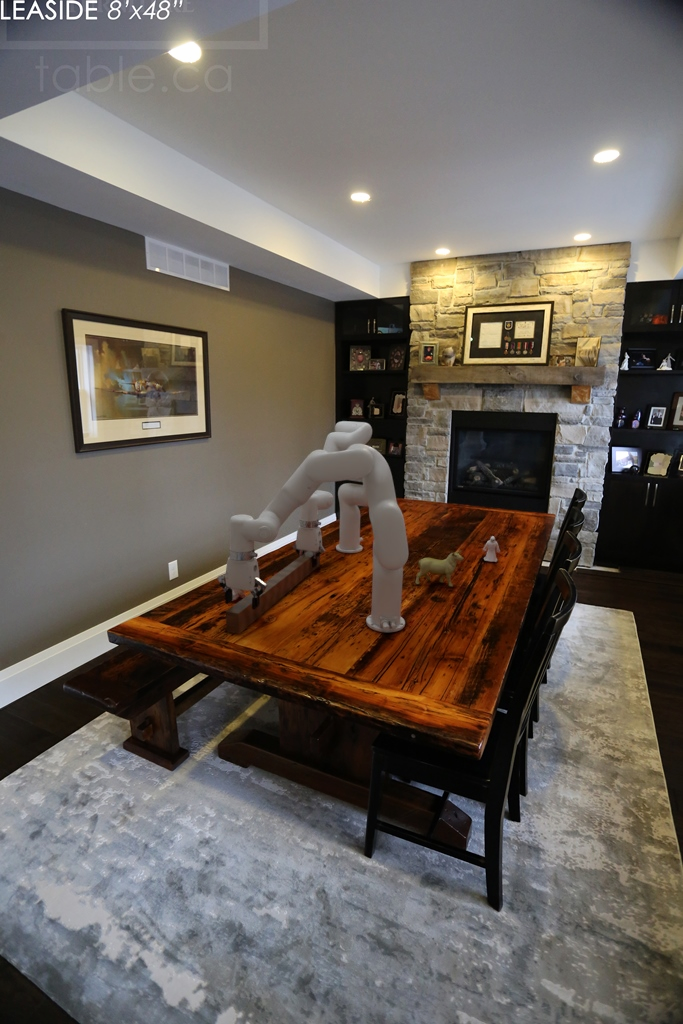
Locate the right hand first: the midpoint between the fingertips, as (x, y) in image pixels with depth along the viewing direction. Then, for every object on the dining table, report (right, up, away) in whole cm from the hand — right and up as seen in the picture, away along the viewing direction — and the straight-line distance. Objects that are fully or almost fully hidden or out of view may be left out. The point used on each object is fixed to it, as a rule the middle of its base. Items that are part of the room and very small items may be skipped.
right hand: (242, 605), depth 160 cm
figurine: (+99, +8, +65) cm, 119 cm away
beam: (+9, 0, +25) cm, 27 cm away
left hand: (+18, +8, +49) cm, 53 cm away
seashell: (-6, -2, +19) cm, 20 cm away
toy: (+70, +1, +36) cm, 78 cm away
